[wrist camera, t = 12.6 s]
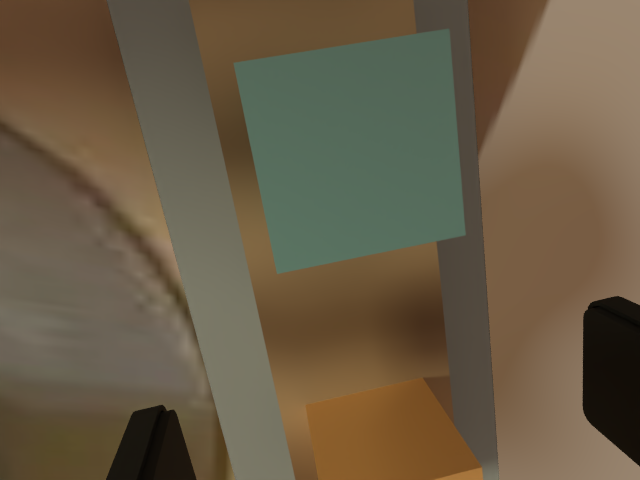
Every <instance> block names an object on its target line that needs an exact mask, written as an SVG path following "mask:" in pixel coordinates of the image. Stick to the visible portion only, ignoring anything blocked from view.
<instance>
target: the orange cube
mask: <svg viewBox="0 0 640 480" xmlns="http://www.w3.org/2000/svg"><path fill="white" fill-rule="evenodd" d="M305 406H306V412H307V417H308V423H309V429H310V435H311V441H312V446H313V452H314V458H315V464H316V469H317V475H318V480H483V473H482V466H481V465H480V463H479V462H478V460H477V459H476V457H475V456H474V454H473V453H472V451H471V450H470V448H469V447H468V445H467V444H466V442H465V441H464V439H463V438H462V436H461V435H460V433H459V432H458V430H457V429H456V427H455V426H454V424H453V423H452V421H451V420H450V418H449V417H448V415H447V414H446V412H445V411H444V409H443V408H442V406H441V405H440V403H439V402H438V400H437V399H436V397H435V396H434V394H433V393H432V391H431V390H430V388H429V387H428V385H427V384H426V382H425V381H424V379H423V378H418V379H414V380H410V381H405V382H401V383H397V384H393V385H388V386H384V387H380V388H375V389H371V390H367V391H363V392H358V393H354V394H350V395H345V396H341V397H337V398H333V399H328V400H324V401H320V402H315V403H311V404H307V405H305Z"/></svg>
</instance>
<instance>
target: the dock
mask: <svg viewBox="0 0 640 480" xmlns="http://www.w3.org/2000/svg"><path fill="white" fill-rule="evenodd" d="M413 2H414V12H415V22H416V33H417V34H418V33H424V32H431V31H437V30H443V29H449V31H450V43H451V56H452V69H453V81H454V94H455V107H456V119H457V132H458V145H459V157H460V170H461V183H462V195H463V208H464V221H465V233H466V235H465V236H460V237H455V238H450V239H445V240H440V241H437V250H438V261H439V271H440V281H441V292H442V302H443V312H444V323H445V333H446V343H447V354H448V364H449V374H450V385H451V395H452V406H453V416H454V426H455V427H456V429H457V430H458V432H459V433H460V435H461V436H462V438H463V439H464V441H465V442H466V444H467V445H468V447H469V448H470V450H471V451H472V453H473V454H474V456H475V457H476V459H477V460H478V462H479V463H480V465H481V466H482V473H483V480H499V468H498V452H497V437H496V424H495V423H496V422H495V408H494V393H493V377H492V362H491V348H490V333H489V317H488V302H487V286H486V271H485V256H484V241H483V226H482V211H481V196H480V181H479V165H478V150H477V135H476V120H475V105H474V90H473V75H472V60H471V44H470V29H469V14H468V0H413ZM107 4H108V7H109V11H110V15H111V19H112V22H113V26H114V30H115V33H116V37H117V41H118V45H119V48H120V52H121V56H122V59H123V63H124V67H125V71H126V74H127V78H128V82H129V85H130V89H131V93H132V97H133V100H134V104H135V108H136V111H137V115H138V119H139V123H140V126H141V130H142V134H143V137H144V141H145V145H146V149H147V152H148V156H149V160H150V164H151V167H152V171H153V175H154V178H155V182H156V186H157V190H158V193H159V197H160V201H161V204H162V208H163V212H164V216H165V219H166V223H167V227H168V230H169V234H170V238H171V242H172V245H173V249H174V253H175V256H176V260H177V264H178V268H179V271H180V275H181V279H182V282H183V286H184V290H185V294H186V297H187V301H188V305H189V309H190V312H191V316H192V320H193V323H194V327H195V331H196V335H197V338H198V342H199V346H200V349H201V353H202V357H203V361H204V364H205V368H206V372H207V375H208V379H209V383H210V387H211V390H212V394H213V398H214V401H215V405H216V409H217V413H218V416H219V420H220V424H221V427H222V431H223V435H224V439H225V442H226V446H227V450H228V454H229V457H230V461H231V465H232V468H233V472H234V476H235V480H295V476H294V471H293V467H292V462H291V458H290V453H289V449H288V444H287V440H286V435H285V431H284V426H283V422H282V417H281V413H280V408H279V404H278V399H277V395H276V390H275V386H274V382H273V377H272V373H271V368H270V364H269V359H268V355H267V350H266V346H265V341H264V337H263V332H262V328H261V323H260V319H259V314H258V310H257V305H256V301H255V296H254V292H253V287H252V283H251V278H250V274H249V269H248V265H247V260H246V256H245V251H244V247H243V242H242V238H241V233H240V229H239V224H238V220H237V215H236V211H235V207H234V202H233V198H232V193H231V189H230V184H229V180H228V175H227V171H226V166H225V162H224V157H223V153H222V148H221V144H220V139H219V135H218V130H217V126H216V121H215V117H214V112H213V108H212V103H211V99H210V94H209V90H208V85H207V81H206V76H205V72H204V67H203V63H202V58H201V54H200V49H199V45H198V41H197V36H196V32H195V27H194V23H193V18H192V14H191V9H190V5H189V0H107Z"/></svg>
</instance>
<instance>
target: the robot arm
mask: <svg viewBox="0 0 640 480" xmlns="http://www.w3.org/2000/svg"><path fill="white" fill-rule="evenodd" d="M583 318H584V319H583V411H584V414H585V416H586V418H587V420H588V421H589V422H590V423H591V425H592V426H594V427H595V428H596V429H597V430H598V431H599V432H601V433H602V434H603V435H604V436H605V437H606V438H608V439H609V440H610V441H611V442H612V443H613V444H615V445H616V446H617V447H618V448H619V449H620V450H622V451H623V452H624V453H625V454H626V455H627V456H628V457H629V458H631V459H632V460H633V461H634V462H635V463H637V464H638V465H639V466H640V305H638V304H636V303H633V302H631V301H629V300H627V299H624V298H622V297H619V296H616V297H611V298H606V299H602V300H598V301H594V302H592V303H590V305H589V306H588V310H586V311H585V313H584V317H583ZM106 480H196V476H195V473H194V470H193V466H192V463H191V460H190V457H189V453H188V450H187V447H186V443H185V440H184V437H183V434H182V430H181V427H180V424H179V420H178V417H177V414H176V412H175V411H174V410H169V411H167V410H166V408H165V407H164V406H163V405H159V406H155V407H151V408H147V409H142V410H138V411H135V412H133V414H132V415H131V418H130V420H129V423H128V425H127V428H126V430H125V433H124V435H123V438H122V440H121V443H120V446H119V448H118V451H117V453H116V456H115V458H114V461H113V463H112V466H111V468H110V471H109V473H108V476H107V478H106Z"/></svg>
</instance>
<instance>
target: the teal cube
mask: <svg viewBox="0 0 640 480" xmlns="http://www.w3.org/2000/svg"><path fill="white" fill-rule="evenodd" d="M234 68H235V73H236V78H237V83H238V88H239V92H240V97H241V102H242V107H243V112H244V117H245V121H246V126H247V131H248V136H249V141H250V146H251V151H252V155H253V160H254V165H255V170H256V175H257V180H258V184H259V189H260V194H261V199H262V204H263V209H264V214H265V218H266V223H267V228H268V233H269V238H270V243H271V247H272V252H273V257H274V262H275V267H276V272H277V274H280V273H285V272H289V271H294V270H299V269H304V268H309V267H314V266H319V265H323V264H328V263H333V262H338V261H343V260H348V259H353V258H358V257H362V256H367V255H372V254H377V253H382V252H387V251H392V250H396V249H401V248H406V247H411V246H416V245H421V244H426V243H431V242H435V241H440V240H445V239H450V238H455V237H460V236H465V235H466V233H465V221H464V208H463V195H462V183H461V170H460V157H459V145H458V132H457V119H456V107H455V94H454V81H453V69H452V56H451V43H450V31H449V29H443V30H437V31H431V32H424V33H418V34H412V35H405V36H399V37H393V38H387V39H380V40H374V41H368V42H361V43H355V44H349V45H343V46H336V47H330V48H324V49H317V50H311V51H305V52H298V53H292V54H286V55H280V56H273V57H267V58H261V59H254V60H248V61H242V62H236V63H234Z"/></svg>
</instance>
